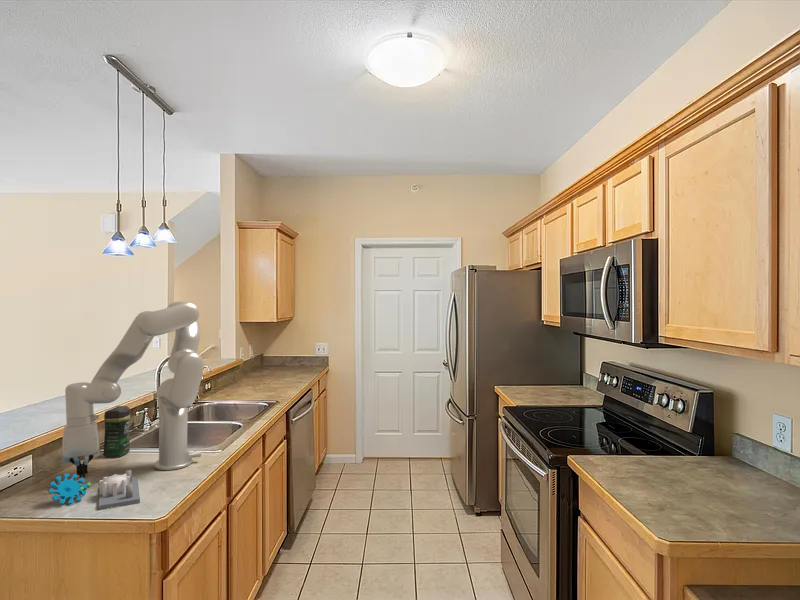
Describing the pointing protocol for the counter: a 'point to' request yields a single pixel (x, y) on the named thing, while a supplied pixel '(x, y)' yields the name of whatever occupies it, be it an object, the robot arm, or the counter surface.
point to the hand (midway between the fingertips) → (82, 476)
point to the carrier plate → (122, 497)
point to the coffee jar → (116, 432)
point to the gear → (68, 489)
